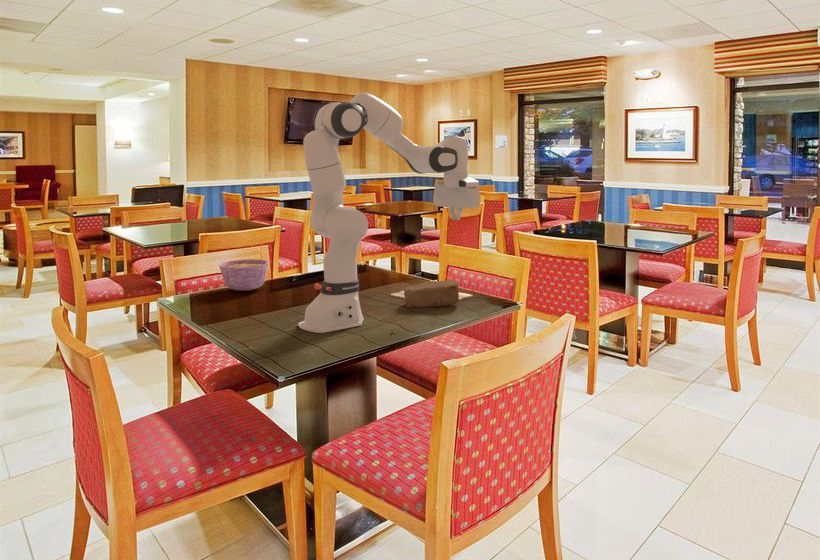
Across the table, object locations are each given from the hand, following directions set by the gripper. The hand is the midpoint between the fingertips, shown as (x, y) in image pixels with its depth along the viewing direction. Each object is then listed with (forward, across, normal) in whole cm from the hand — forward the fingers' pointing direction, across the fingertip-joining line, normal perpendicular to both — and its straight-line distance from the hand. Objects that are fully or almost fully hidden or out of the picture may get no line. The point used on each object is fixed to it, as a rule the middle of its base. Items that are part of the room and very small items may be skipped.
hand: (455, 219), depth 227 cm
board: (+31, -14, +1) cm, 34 cm away
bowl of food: (+32, -80, -42) cm, 96 cm away
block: (+26, +4, -2) cm, 26 cm away
